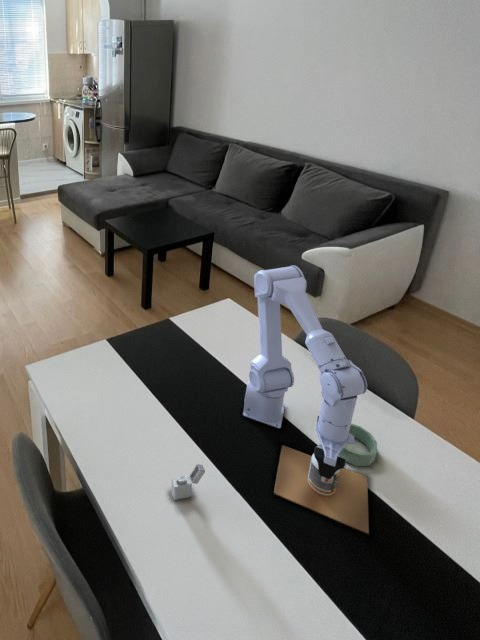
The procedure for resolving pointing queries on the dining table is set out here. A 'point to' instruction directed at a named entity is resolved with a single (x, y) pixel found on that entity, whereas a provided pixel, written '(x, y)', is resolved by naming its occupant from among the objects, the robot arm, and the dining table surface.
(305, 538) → the dining table surface
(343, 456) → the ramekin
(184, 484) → the lighter
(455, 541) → the dining table surface
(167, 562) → the dining table surface
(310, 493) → the cork mat
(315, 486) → the pill bottle
